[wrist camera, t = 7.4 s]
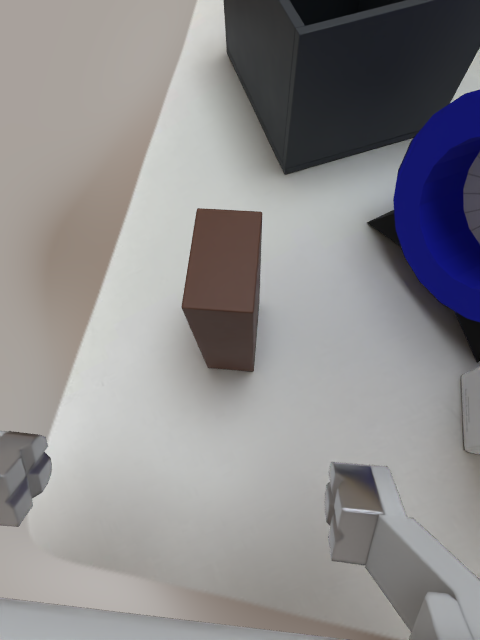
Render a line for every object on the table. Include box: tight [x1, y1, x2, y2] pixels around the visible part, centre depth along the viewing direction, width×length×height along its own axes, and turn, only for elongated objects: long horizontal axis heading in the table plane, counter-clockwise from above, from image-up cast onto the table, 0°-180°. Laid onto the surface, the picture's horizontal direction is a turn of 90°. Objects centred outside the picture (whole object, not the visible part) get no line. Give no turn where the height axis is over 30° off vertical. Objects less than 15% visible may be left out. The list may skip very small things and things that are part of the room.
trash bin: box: [224, 0, 480, 174], centre depth 29 cm, size 15×13×11 cm
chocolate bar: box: [182, 208, 262, 371], centre depth 21 cm, size 3×5×10 cm, turn 175°
